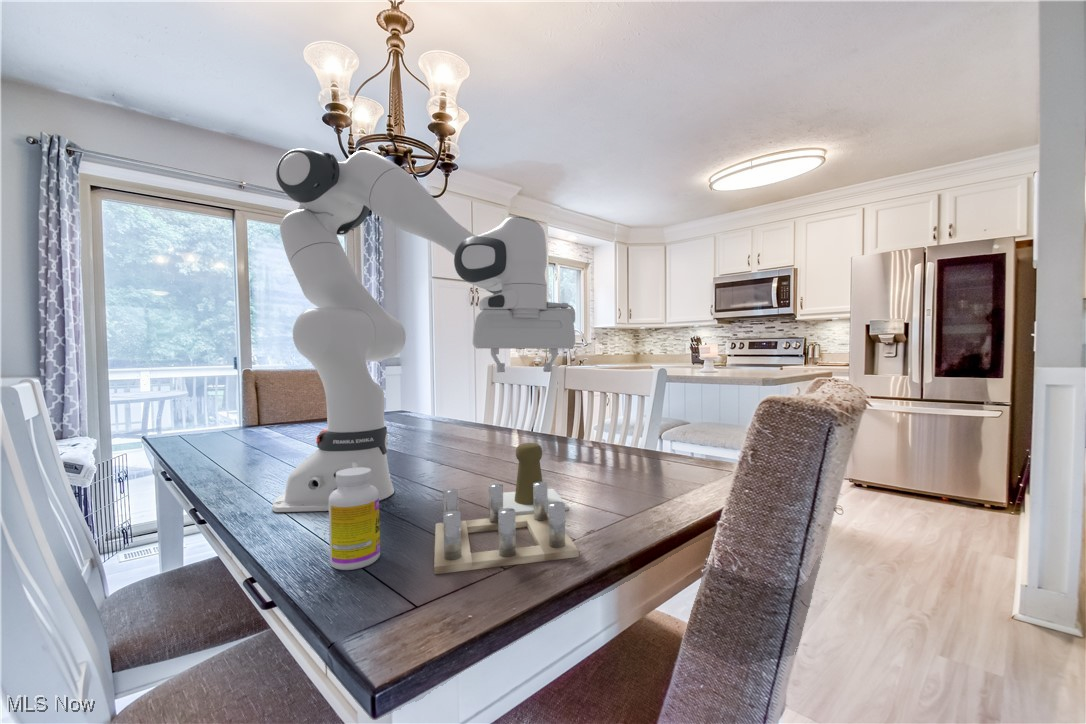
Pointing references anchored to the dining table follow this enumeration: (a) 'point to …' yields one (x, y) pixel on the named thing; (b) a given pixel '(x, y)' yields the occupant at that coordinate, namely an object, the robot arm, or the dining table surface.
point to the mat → (528, 509)
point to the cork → (527, 472)
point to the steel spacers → (503, 520)
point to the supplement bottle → (354, 520)
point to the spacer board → (493, 558)
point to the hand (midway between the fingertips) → (524, 372)
